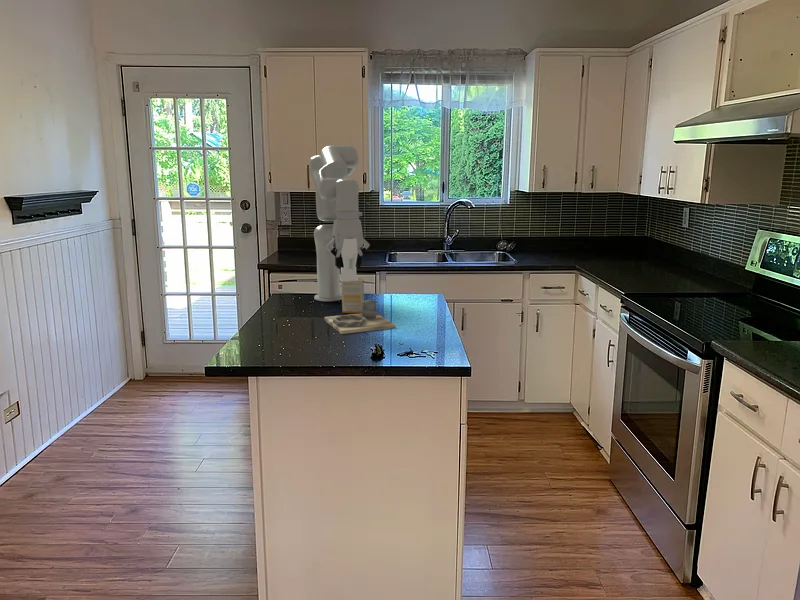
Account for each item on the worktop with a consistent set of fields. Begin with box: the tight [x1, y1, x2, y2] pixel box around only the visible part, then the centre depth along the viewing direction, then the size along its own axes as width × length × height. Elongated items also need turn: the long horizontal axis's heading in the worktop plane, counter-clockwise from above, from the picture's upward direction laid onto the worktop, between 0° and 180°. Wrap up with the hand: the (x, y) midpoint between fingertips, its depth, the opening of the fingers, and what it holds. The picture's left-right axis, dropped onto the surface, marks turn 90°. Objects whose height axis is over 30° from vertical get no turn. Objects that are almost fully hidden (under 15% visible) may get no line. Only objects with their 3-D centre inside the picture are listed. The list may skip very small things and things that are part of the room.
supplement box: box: [340, 277, 365, 314], centre depth 230 cm, size 8×5×13 cm, turn 84°
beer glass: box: [340, 238, 358, 282], centre depth 206 cm, size 7×7×15 cm
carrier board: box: [324, 299, 396, 335], centre depth 213 cm, size 20×20×7 cm
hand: (348, 267), depth 206 cm, fingers closed on beer glass, 6 cm apart
